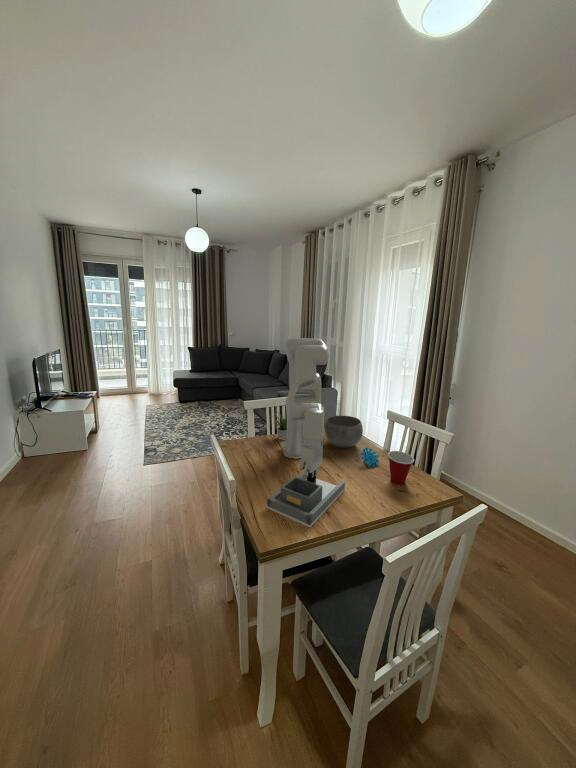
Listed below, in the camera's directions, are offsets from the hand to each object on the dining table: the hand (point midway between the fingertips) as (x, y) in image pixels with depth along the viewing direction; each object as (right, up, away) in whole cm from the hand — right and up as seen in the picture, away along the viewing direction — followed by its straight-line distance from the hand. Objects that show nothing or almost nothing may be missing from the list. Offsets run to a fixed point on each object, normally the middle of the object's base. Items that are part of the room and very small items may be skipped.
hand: (311, 484), depth 119 cm
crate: (-4, -5, -5) cm, 8 cm away
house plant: (-13, +7, +58) cm, 61 cm away
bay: (-1, -5, 0) cm, 6 cm away
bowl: (+21, +5, +51) cm, 55 cm away
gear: (+31, 0, +30) cm, 43 cm away
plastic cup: (+39, -3, +14) cm, 42 cm away
